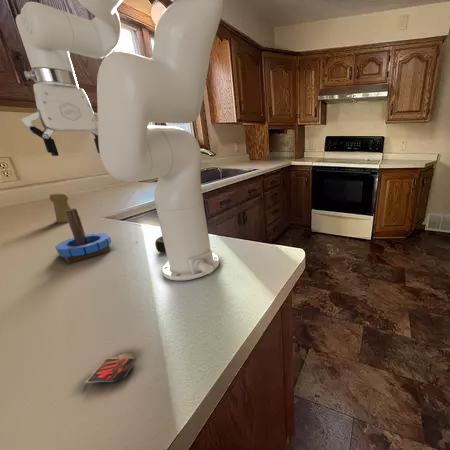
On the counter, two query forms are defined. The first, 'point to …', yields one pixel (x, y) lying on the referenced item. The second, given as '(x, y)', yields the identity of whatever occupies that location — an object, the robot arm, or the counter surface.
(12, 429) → the counter surface
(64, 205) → the cork
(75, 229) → the stand
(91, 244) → the tape roll
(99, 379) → the matchbox
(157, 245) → the tape measure
